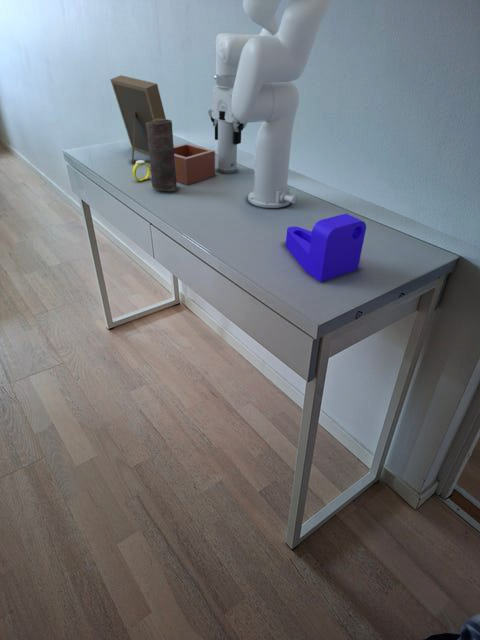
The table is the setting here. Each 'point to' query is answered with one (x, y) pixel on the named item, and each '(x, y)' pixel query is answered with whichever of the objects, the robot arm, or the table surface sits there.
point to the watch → (139, 162)
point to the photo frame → (138, 108)
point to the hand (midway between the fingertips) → (227, 141)
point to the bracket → (328, 246)
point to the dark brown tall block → (161, 154)
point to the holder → (193, 163)
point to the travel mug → (226, 146)
